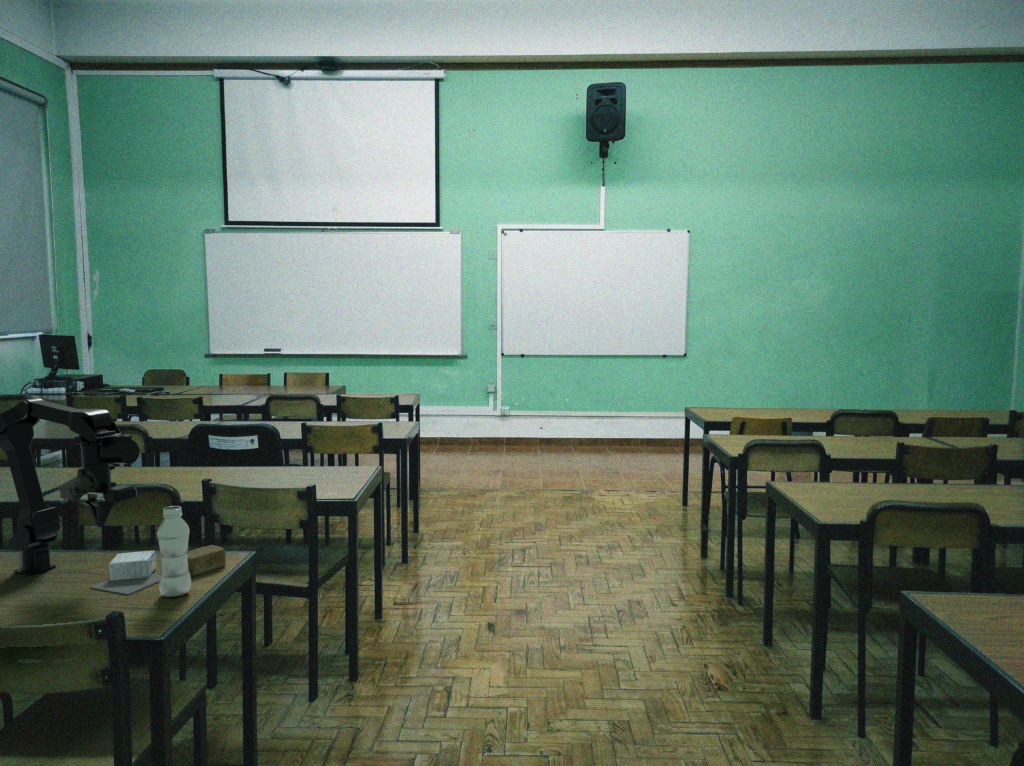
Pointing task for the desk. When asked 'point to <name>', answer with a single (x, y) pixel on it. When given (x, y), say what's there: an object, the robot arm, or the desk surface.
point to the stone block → (205, 559)
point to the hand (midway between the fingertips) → (100, 526)
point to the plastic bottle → (173, 553)
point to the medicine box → (132, 565)
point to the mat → (127, 584)
